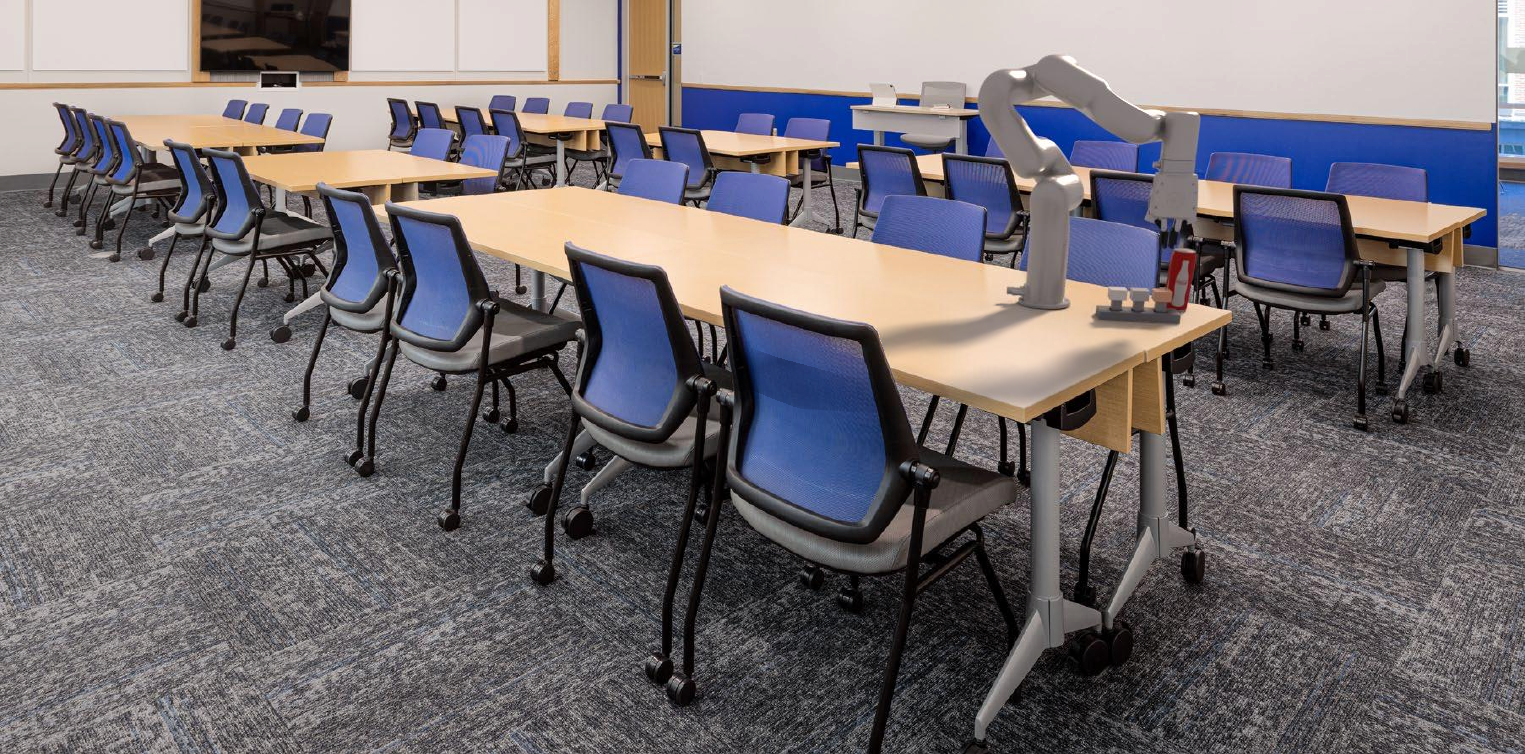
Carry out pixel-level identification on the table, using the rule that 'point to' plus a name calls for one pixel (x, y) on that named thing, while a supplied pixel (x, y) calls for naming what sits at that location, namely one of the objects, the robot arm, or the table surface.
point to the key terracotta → (1161, 298)
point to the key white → (1117, 297)
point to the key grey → (1139, 298)
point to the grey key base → (1138, 315)
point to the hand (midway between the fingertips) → (1167, 247)
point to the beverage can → (1180, 277)
